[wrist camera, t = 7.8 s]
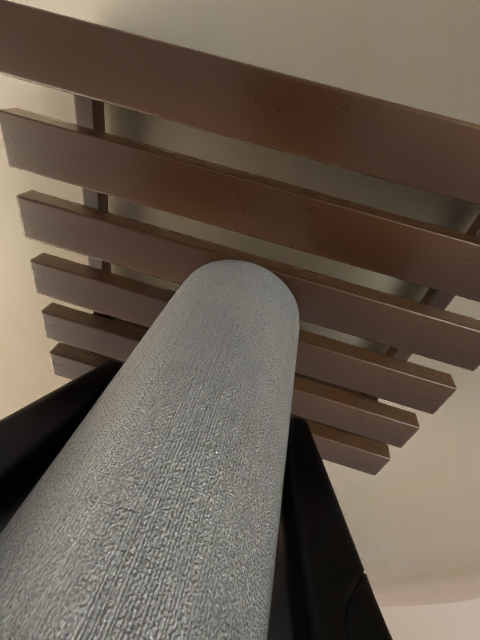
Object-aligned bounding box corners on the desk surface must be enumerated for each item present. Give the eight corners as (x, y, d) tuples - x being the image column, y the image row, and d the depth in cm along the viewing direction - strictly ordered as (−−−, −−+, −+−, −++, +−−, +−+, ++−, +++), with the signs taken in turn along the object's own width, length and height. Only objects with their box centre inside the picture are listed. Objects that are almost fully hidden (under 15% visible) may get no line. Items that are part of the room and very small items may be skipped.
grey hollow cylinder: (198, 362, 14) (13, 767, 6) (161, 265, 11) (-260, 725, 3) (307, 359, 12) (273, 885, 4) (291, 248, 10) (144, 965, 2)
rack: (365, 398, 20) (375, 476, 16) (105, 318, 20) (53, 374, 16) (543, 143, 11) (663, 173, 7) (88, 23, 12) (-30, -10, 8)
